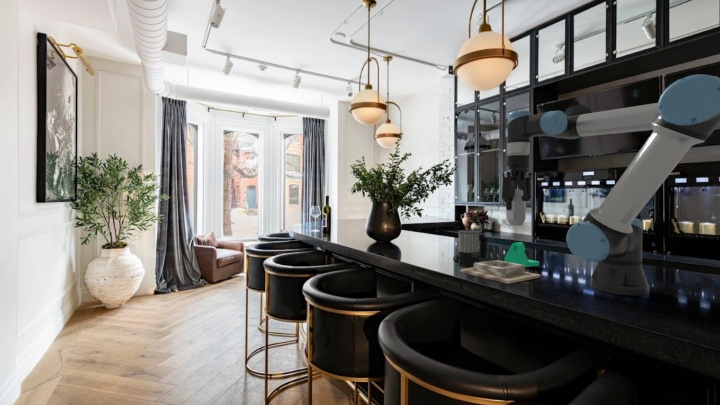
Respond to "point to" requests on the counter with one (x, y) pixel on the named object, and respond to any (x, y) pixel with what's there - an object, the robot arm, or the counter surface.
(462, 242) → the milk frother
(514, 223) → the salt shaker
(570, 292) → the counter surface
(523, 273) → the socket holder
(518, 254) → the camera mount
